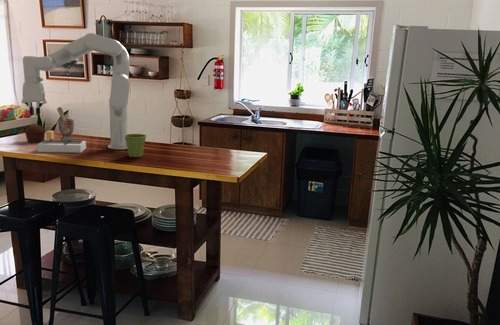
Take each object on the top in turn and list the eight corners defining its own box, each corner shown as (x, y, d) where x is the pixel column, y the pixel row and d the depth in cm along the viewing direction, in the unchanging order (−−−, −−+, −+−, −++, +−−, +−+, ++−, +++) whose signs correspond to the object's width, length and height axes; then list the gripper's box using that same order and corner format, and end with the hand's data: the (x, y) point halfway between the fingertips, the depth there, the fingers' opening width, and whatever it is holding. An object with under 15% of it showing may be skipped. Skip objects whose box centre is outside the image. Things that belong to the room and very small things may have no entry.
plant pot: (151, 155, 229) (151, 135, 226) (135, 159, 219) (135, 138, 216) (135, 152, 235) (135, 132, 232) (119, 156, 225) (118, 135, 222)
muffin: (20, 142, 246) (19, 126, 244) (33, 139, 257) (32, 123, 254) (38, 144, 244) (37, 127, 242) (50, 141, 255) (49, 124, 252)
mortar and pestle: (52, 141, 255) (49, 107, 250) (62, 138, 263) (60, 106, 258) (67, 143, 252) (65, 109, 247) (77, 140, 260) (76, 108, 255)
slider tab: (54, 141, 234) (53, 130, 232) (51, 142, 230) (51, 131, 228) (49, 141, 234) (49, 130, 232) (47, 142, 229) (46, 131, 228)
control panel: (86, 147, 241) (85, 139, 240) (80, 152, 229) (80, 143, 228) (45, 147, 238) (44, 138, 237) (37, 151, 226) (37, 143, 225)
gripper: (50, 80, 227) (53, 114, 232) (19, 79, 225) (22, 113, 230) (46, 81, 220) (48, 116, 225) (13, 80, 218) (16, 115, 223)
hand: (35, 114), depth 227 cm, fingers closed
